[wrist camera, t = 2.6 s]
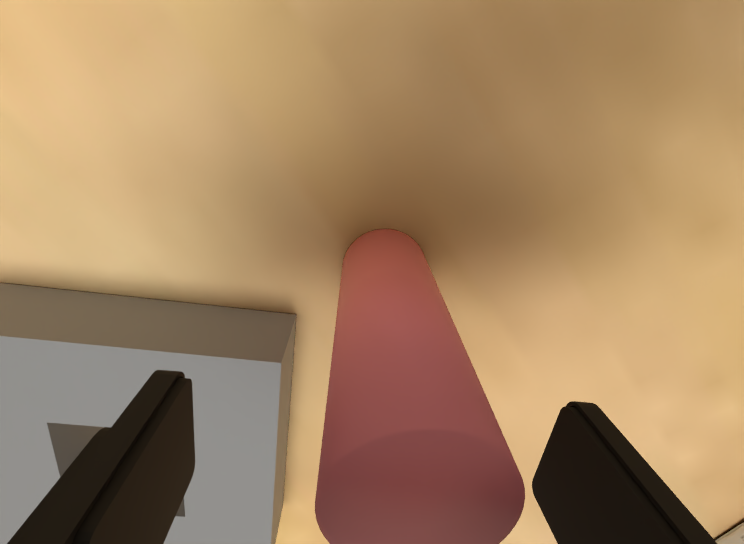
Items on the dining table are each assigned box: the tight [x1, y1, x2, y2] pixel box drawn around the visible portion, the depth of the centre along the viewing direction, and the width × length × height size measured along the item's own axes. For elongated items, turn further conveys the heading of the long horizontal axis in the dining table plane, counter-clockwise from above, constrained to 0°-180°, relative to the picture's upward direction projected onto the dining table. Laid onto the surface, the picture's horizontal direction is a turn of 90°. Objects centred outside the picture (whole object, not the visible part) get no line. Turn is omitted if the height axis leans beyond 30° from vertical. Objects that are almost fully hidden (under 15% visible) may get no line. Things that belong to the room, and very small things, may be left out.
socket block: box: [0, 283, 296, 544], centre depth 19 cm, size 14×14×4 cm
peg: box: [315, 229, 525, 544], centre depth 13 cm, size 4×4×12 cm
